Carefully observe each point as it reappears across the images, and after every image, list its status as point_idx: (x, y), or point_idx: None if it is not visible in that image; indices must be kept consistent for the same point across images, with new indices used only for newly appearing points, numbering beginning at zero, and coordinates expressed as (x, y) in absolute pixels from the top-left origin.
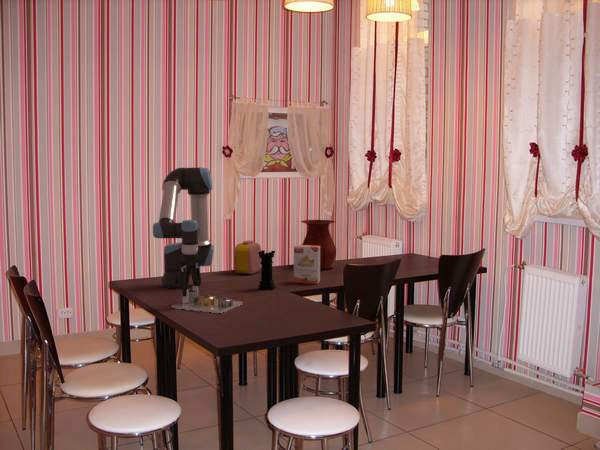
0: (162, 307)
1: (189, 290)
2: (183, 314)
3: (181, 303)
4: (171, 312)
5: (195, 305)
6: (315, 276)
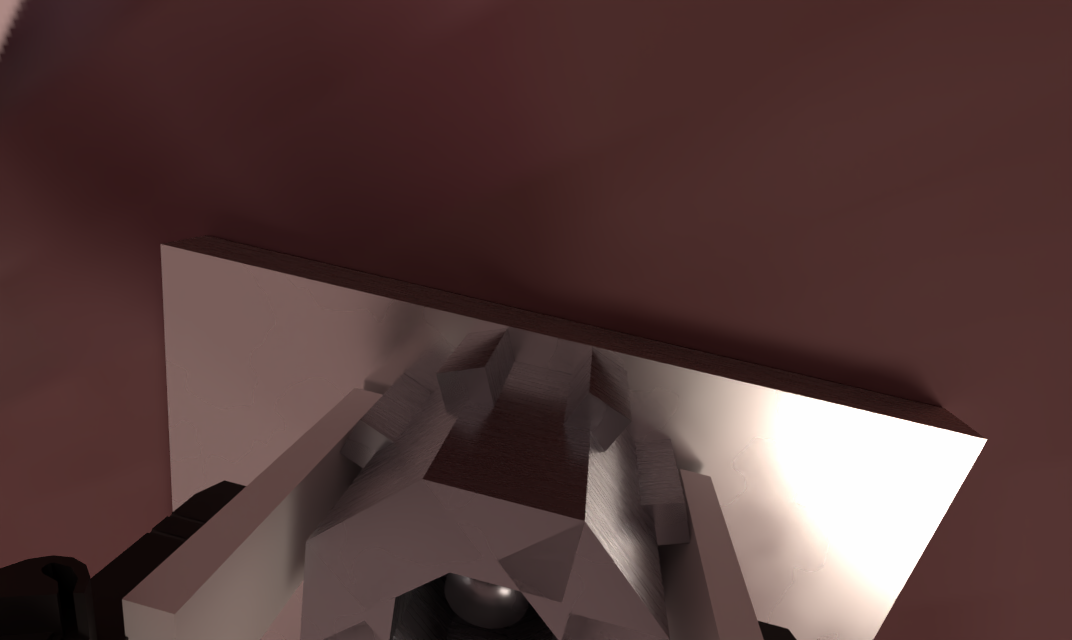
0: (208, 27)
1: (570, 599)
2: (14, 499)
3: (343, 362)
4: (14, 326)
5: (296, 594)
6: None
